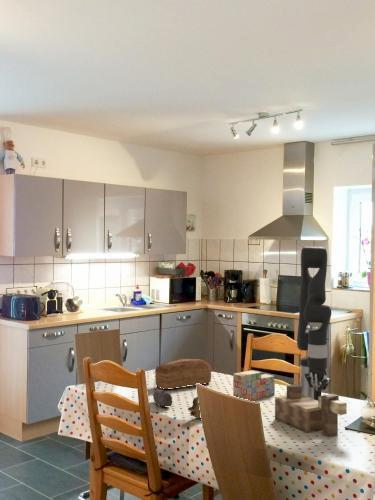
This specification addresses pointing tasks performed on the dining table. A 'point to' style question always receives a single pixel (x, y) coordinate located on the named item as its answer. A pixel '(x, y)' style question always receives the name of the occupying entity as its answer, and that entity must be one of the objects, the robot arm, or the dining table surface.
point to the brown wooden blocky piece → (309, 417)
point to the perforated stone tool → (162, 398)
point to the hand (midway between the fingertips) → (317, 399)
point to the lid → (298, 399)
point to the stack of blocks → (253, 385)
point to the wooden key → (335, 406)
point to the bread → (182, 373)
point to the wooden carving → (195, 408)
